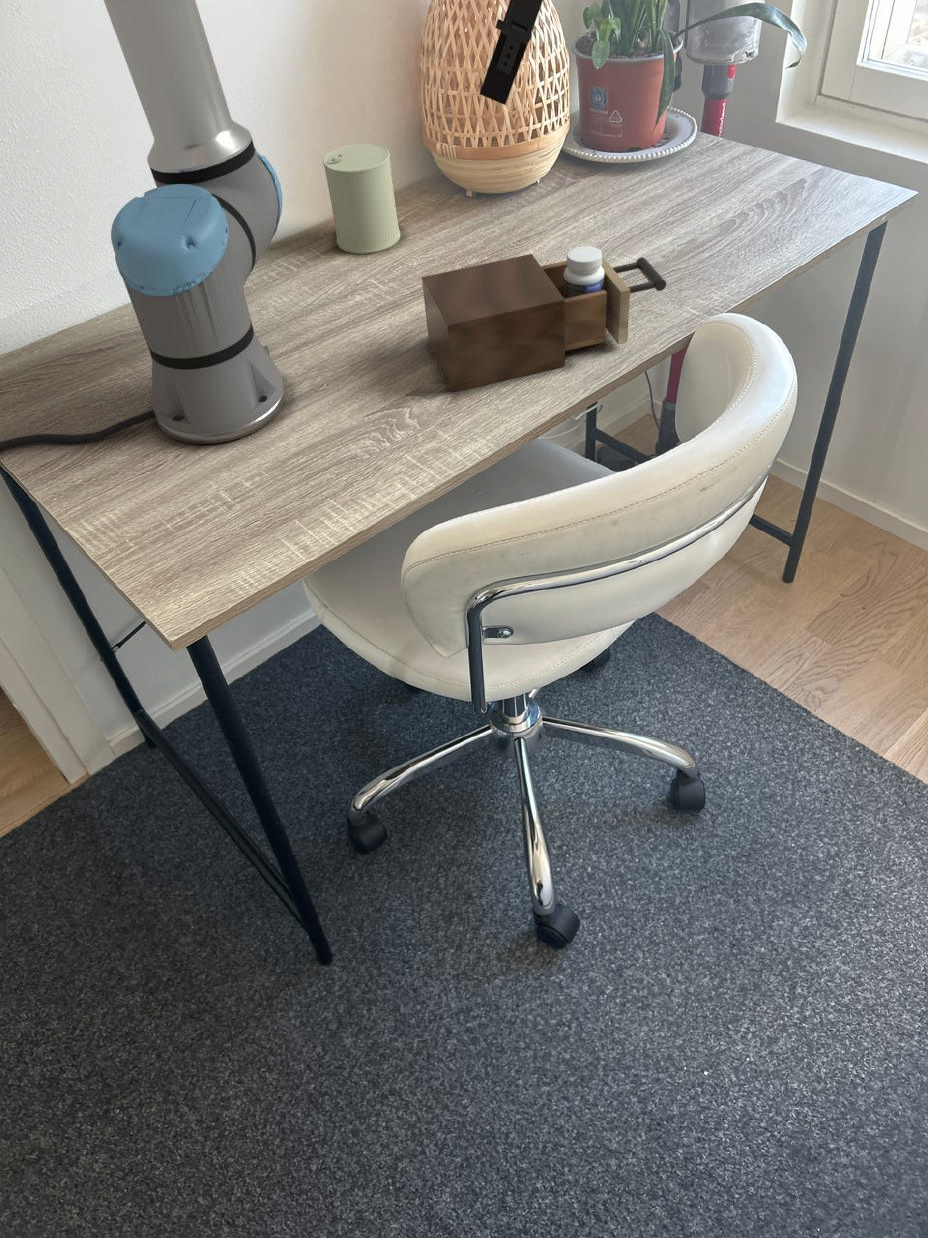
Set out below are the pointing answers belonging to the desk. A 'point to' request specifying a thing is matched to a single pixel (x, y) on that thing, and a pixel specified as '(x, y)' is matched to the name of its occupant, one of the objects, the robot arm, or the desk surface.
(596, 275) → the pill bottle
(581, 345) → the drawer
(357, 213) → the can
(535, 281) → the cabinet
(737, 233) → the desk surface
